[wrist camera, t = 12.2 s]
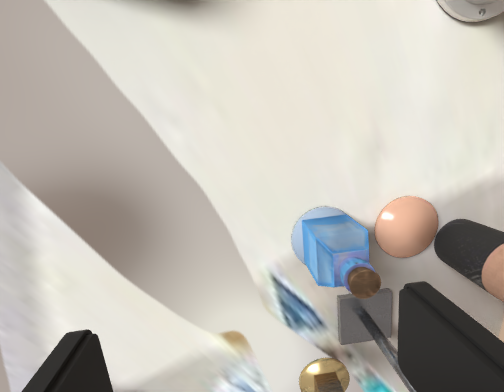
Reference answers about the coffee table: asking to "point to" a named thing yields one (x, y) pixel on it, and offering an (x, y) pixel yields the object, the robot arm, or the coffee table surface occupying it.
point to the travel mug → (474, 253)
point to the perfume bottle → (339, 255)
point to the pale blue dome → (297, 230)
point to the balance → (354, 341)
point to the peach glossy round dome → (406, 226)
